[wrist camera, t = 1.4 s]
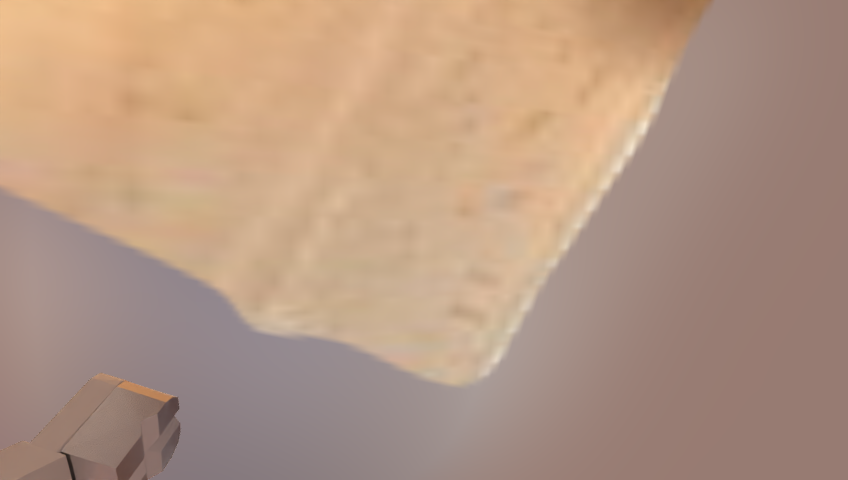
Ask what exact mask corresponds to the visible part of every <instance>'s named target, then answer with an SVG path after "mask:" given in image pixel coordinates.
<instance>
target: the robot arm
mask: <svg viewBox="0 0 848 480" xmlns="http://www.w3.org/2000/svg"><path fill="white" fill-rule="evenodd" d="M178 410H179V401H178V397H175V396H172V395H169V394H166V393H162V392H159V391H156V390H153V389H150V388H147V387H143V386H140V385H137V384H134V383H131V382H129V381H126V380H123V379H119V378H116V377H113V376H110V375H106V374H103V373H100V374H98V375H96V376H95V377H93V378H91V379H90V380H89V381H88V382H87V383H86V384H85V385H84V386H83V387H82V388H81V389H80V390H79V392H78V393H77V394H76V395H75V396H74V397H73V398H72V399H71V400H70V401H69V402H68V403H67V404H66V405H65V406H64V408H62V410H61V411H60V412H59V413H58V414H57V415H56V416H55V417H54V418H53V419H52V420H51V421H50V422H49V423H48V424H47V425H46V426H45V428H44V429H43V430H42V431H41V432H40V433H39V434H38V435H37V436H36V437H35V438H34V439H33V440H32V441H31V442H30V443H28V442H24V441H21V442H18V443H16V444H14V445H12V446H9V447H7V448H5V449H3V450H0V480H148V479H149V478H151V477H153V476H155V475H157V474H159V473H160V472H162V471H163V470H164V468H165V467H166V465H167V464H168V462H169V461H170V459H171V458H172V455H173V453H174V451H175V448H176V446H177V444H178V441H179V436H180V422H179V421H178V420H177V419H176V418H175V416H174V415H175V414H176V412H177V411H178Z"/></svg>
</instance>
